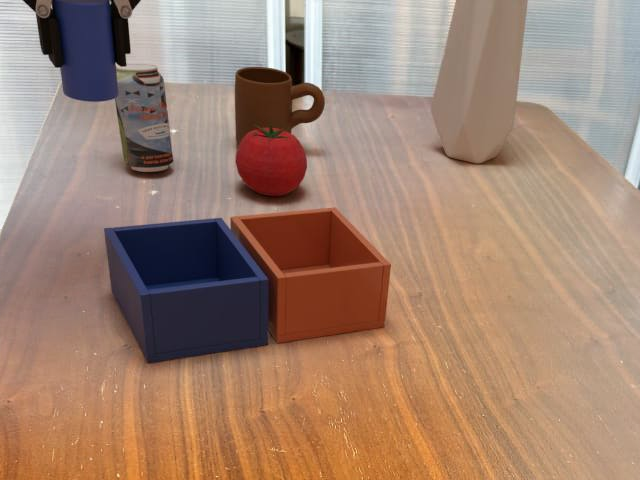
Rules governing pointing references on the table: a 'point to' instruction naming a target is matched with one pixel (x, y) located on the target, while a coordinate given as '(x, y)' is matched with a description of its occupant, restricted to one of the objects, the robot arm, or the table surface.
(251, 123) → the mug
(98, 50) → the blue cylinder
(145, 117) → the beverage can
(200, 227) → the blue bin
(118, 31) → the robot arm
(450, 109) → the vase
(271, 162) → the tomato
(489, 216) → the table surface
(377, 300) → the terracotta bin
